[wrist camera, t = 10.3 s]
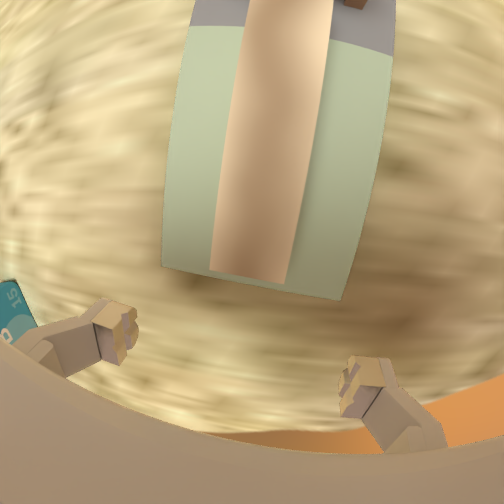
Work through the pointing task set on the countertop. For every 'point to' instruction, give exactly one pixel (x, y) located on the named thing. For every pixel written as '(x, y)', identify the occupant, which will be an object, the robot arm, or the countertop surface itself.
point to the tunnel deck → (322, 154)
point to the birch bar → (270, 136)
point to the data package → (13, 313)
